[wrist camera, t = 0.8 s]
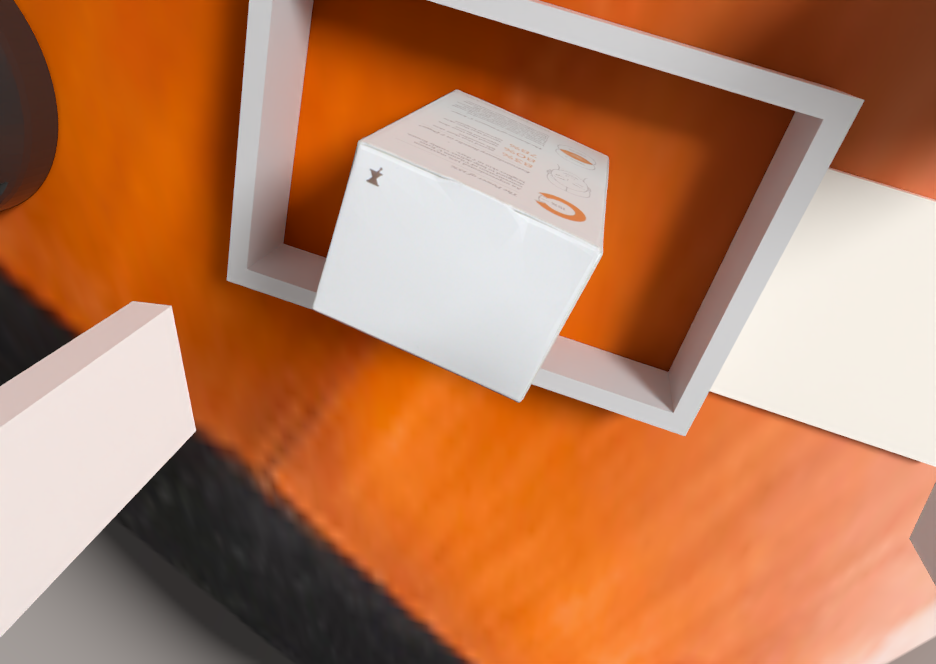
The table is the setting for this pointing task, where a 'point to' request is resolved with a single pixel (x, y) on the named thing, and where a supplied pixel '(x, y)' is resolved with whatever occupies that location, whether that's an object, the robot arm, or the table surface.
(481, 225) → the small box
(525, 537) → the table surface
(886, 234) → the tile
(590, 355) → the bin
